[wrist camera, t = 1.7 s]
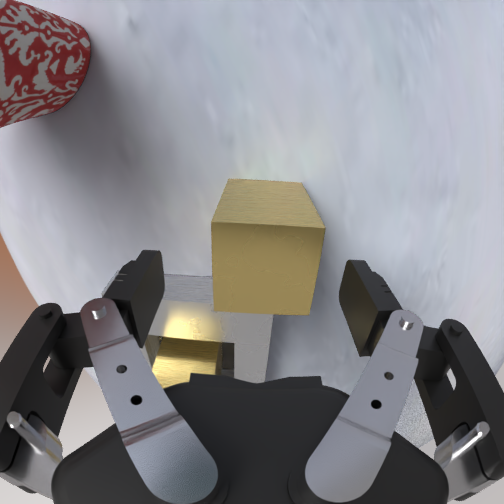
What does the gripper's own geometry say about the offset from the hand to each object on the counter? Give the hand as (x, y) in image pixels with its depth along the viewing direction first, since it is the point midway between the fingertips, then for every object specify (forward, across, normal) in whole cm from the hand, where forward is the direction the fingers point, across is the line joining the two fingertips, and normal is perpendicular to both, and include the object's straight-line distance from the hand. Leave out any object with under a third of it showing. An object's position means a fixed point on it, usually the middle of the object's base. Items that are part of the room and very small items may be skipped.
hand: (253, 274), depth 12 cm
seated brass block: (+7, +4, +12) cm, 15 cm away
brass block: (+7, -1, 0) cm, 7 cm away
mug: (+8, +16, -11) cm, 21 cm away
